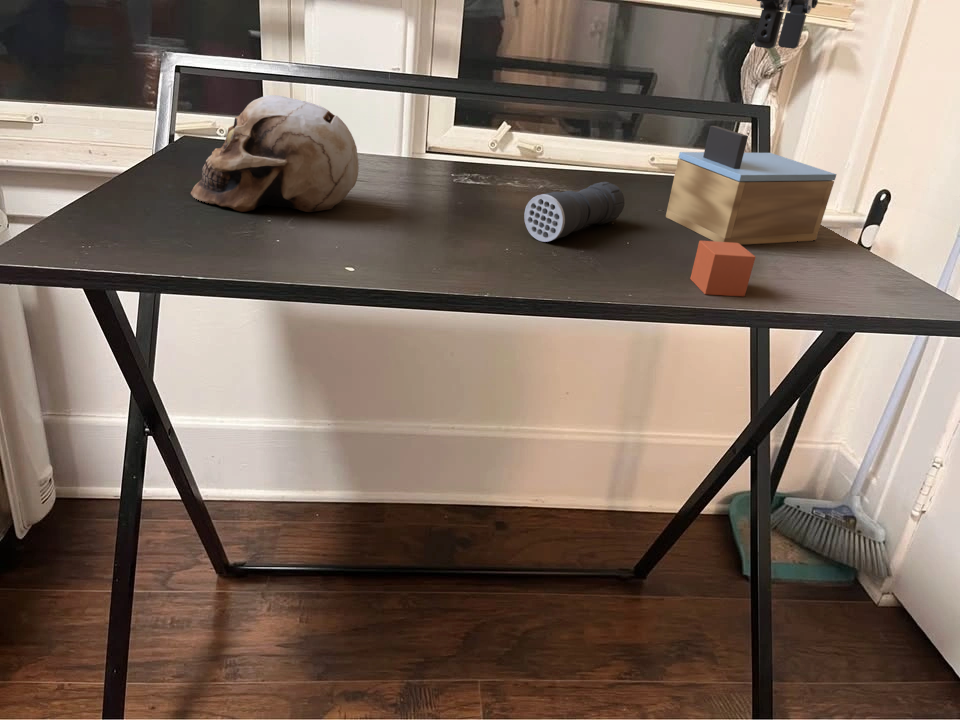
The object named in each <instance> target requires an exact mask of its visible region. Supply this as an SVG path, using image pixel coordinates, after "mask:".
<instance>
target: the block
mask: <svg viewBox="0 0 960 720" xmlns="http://www.w3.org/2000/svg"><path fill="white" fill-rule="evenodd" d="M755 260H756V255H754V254H753V253H752V252H750V251H749V250H748V249H746V247H744V246H743V245H740V244H739V243H731V242H716V241H712V240H699V241H698V245H697V249H696V253H695V257H694V262H693V266H692V270H691V274H690V278H689V279H690V281H692V283H694V285H695V286H696V287H697V288H698V289H699V290H700V291H701V292H702V293H703V294H704V295H708V296H726V297H727V296H728V297H729V296H730V297H745V296H746V293H747V289H748V287H749V282H750V279H751V275H752V270H753V267H754V266H755V265H754V264H755Z"/></svg>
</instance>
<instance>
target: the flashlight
mask: <svg viewBox="0 0 960 720" xmlns="http://www.w3.org/2000/svg"><path fill="white" fill-rule="evenodd" d="M624 207H625V196H624V193H623V191H622V190H621V189H620V187H619V186H617V185H616V184H614V183H611V182H610V181H609V182H608V181H601V182H596V183H593V184H591V185H589V186H587V187H586V188H583V189H581V190H578V191H573V190H565V191H551V192H547V193H542V194H538V195H534V196H533V197H532V198H530V200H529V201H528V202H527V204H526V206H525V209H524V216H523V217H524V218H523V219H524V223H525V224H524V225H525V227H526V229H527V231H528V233H529V234H530V236H531V237H532V238H533V239H535V240H537V241H539V242H543V243H546V242H547V243H548V242H551V241H555V240H559V239H563V238H564V237H567V236H568V235H569V234H571V233H574V232H578V231H579V230H581V229H582V228H583V227H584V226H593V225H605V224H608V223H610V222H614V221H615V220H617V219H618V218H619V217H620V215H621V214H622V212H623V211H624Z"/></svg>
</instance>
